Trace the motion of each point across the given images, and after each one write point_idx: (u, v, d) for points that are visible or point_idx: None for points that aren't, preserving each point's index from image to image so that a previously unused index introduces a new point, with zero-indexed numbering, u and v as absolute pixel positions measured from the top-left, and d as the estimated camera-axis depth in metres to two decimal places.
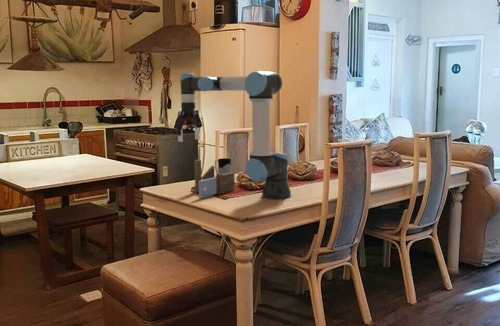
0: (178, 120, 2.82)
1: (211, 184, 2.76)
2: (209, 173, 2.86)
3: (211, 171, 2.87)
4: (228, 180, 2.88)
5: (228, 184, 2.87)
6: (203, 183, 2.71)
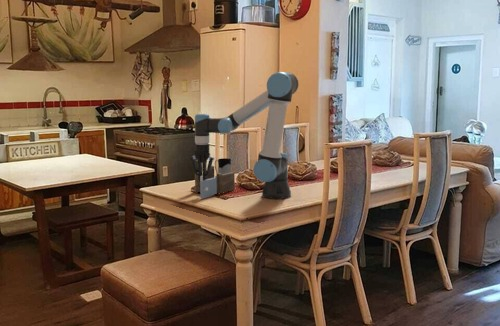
0: None
1: (212, 184, 2.76)
2: None
3: (211, 171, 2.87)
4: (228, 180, 2.88)
5: (228, 184, 2.87)
6: (204, 183, 2.70)
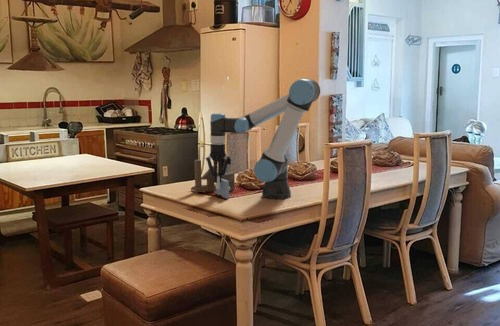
0: (209, 167, 2.69)
1: None
2: (209, 173, 2.86)
3: None
4: (228, 180, 2.88)
5: None
6: None
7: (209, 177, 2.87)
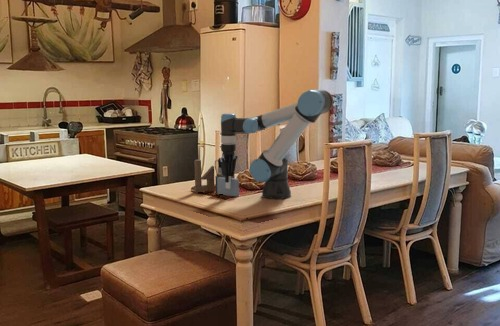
0: (223, 167, 2.68)
1: None
2: (209, 173, 2.86)
3: (211, 171, 2.87)
4: None
5: None
6: None
7: (209, 177, 2.87)
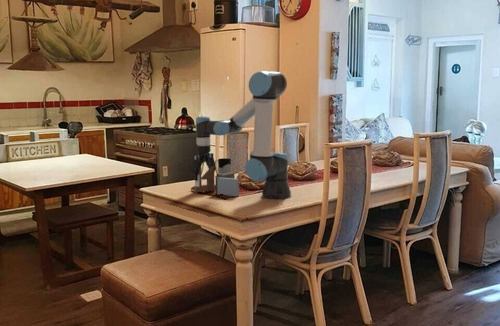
0: (194, 165, 2.80)
1: None
2: (209, 173, 2.86)
3: (211, 171, 2.87)
4: None
5: None
6: None
7: (209, 177, 2.87)
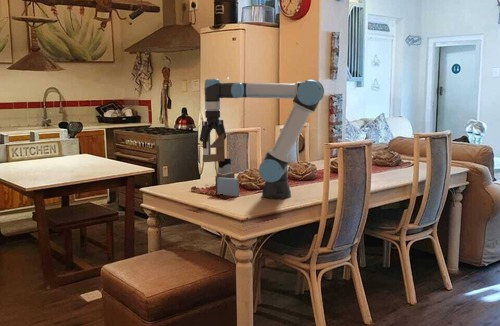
0: (203, 131, 2.58)
1: None
2: (219, 141, 2.64)
3: (221, 138, 2.64)
4: None
5: None
6: None
7: (219, 145, 2.64)
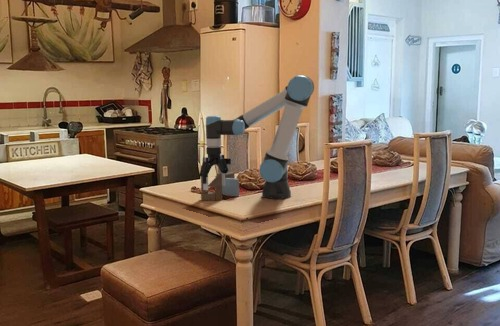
0: (203, 167, 2.59)
1: None
2: (216, 180, 2.66)
3: (218, 178, 2.66)
4: None
5: None
6: None
7: (216, 184, 2.66)
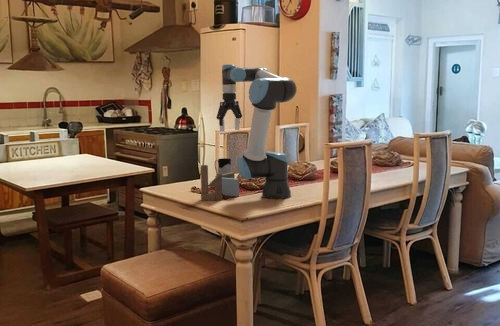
0: (220, 110, 2.86)
1: None
2: (216, 180, 2.66)
3: (218, 178, 2.66)
4: None
5: None
6: None
7: (216, 184, 2.66)
